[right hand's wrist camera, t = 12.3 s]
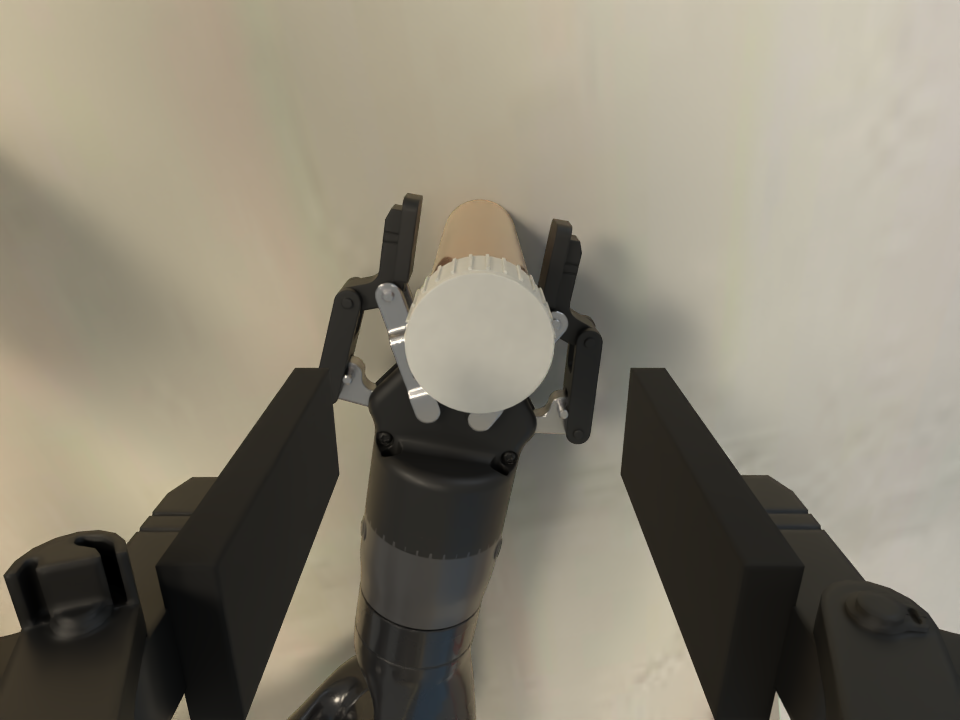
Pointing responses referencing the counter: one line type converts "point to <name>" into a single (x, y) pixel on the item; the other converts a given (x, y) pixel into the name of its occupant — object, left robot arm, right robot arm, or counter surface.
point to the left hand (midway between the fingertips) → (489, 210)
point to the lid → (479, 335)
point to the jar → (479, 234)
